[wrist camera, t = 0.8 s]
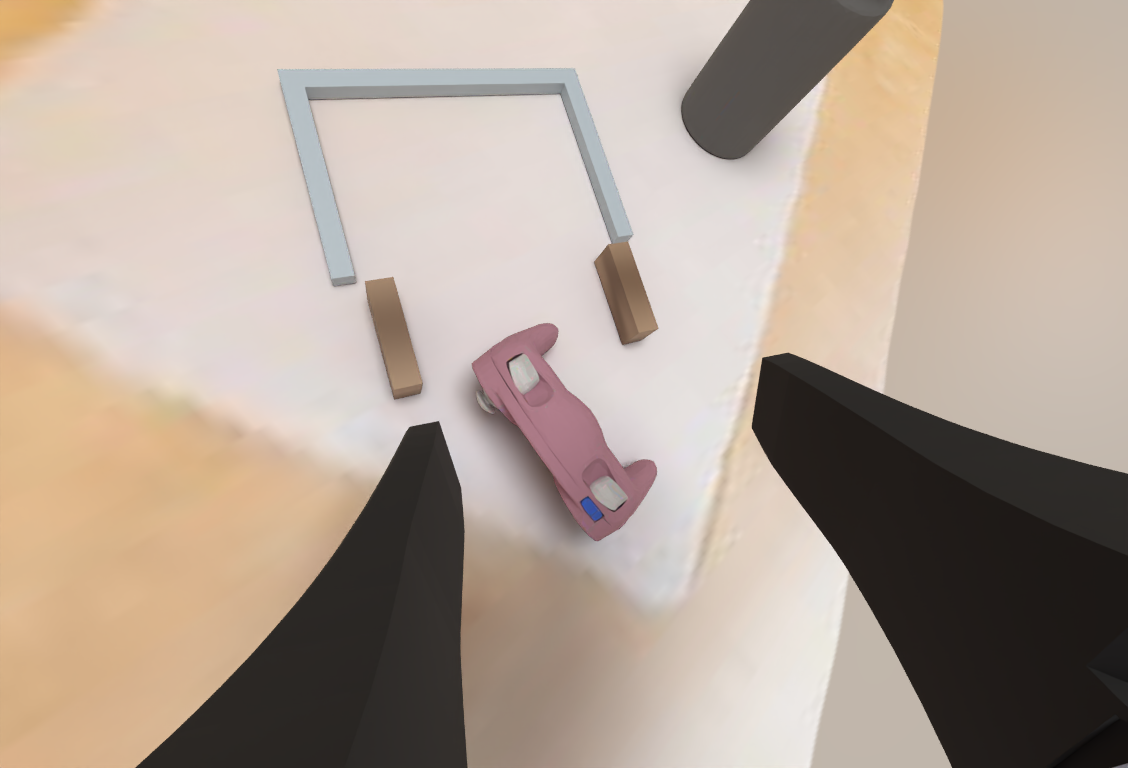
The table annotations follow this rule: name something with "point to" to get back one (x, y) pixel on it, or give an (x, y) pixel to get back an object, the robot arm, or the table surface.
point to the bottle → (771, 67)
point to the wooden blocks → (616, 281)
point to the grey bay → (431, 84)
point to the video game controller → (561, 431)
